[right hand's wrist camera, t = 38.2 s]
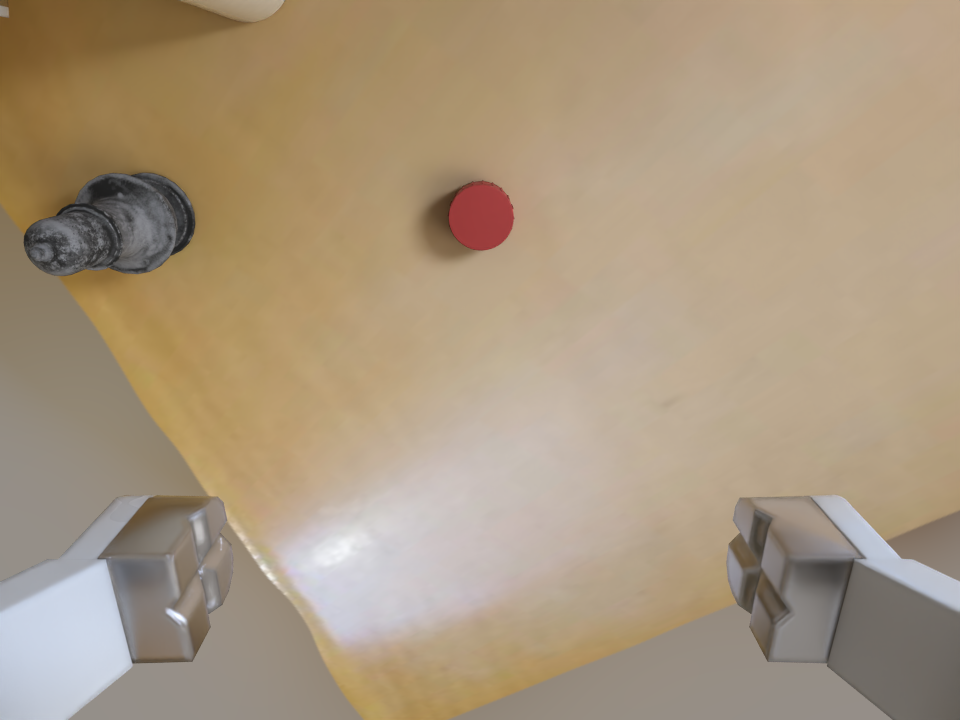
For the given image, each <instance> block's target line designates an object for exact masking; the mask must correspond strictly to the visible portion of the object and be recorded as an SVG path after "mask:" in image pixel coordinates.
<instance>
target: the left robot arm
mask: <svg viewBox="0 0 960 720" xmlns="http://www.w3.org/2000/svg"><path fill="white" fill-rule="evenodd" d="M4 6H5V7H4ZM0 16H2V17H7V18H9V7H8V0H0Z"/></svg>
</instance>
